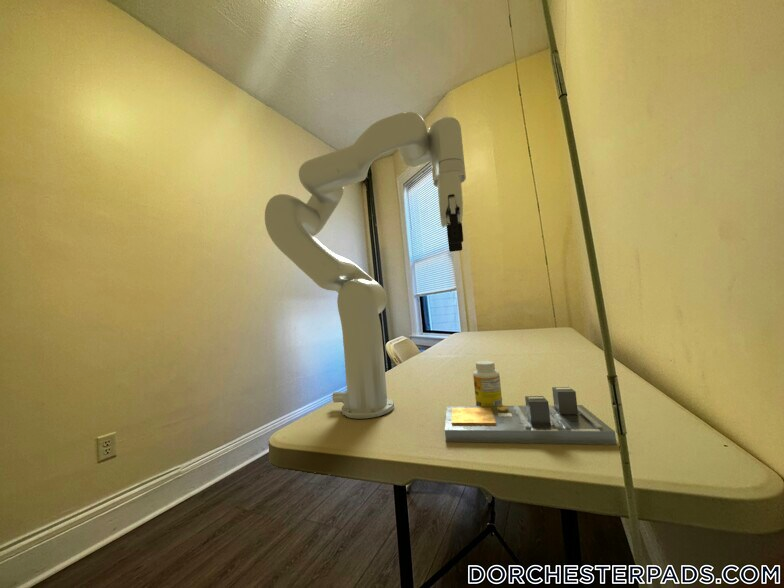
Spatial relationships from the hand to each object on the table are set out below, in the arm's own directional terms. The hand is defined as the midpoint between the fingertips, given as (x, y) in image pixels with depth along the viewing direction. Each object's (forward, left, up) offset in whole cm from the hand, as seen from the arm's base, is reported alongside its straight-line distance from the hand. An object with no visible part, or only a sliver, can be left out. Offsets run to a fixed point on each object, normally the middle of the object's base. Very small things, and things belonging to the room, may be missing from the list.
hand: (455, 247), depth 67 cm
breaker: (+17, -7, -35) cm, 39 cm away
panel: (+8, -10, -37) cm, 39 cm away
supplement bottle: (+4, 0, -37) cm, 37 cm away
